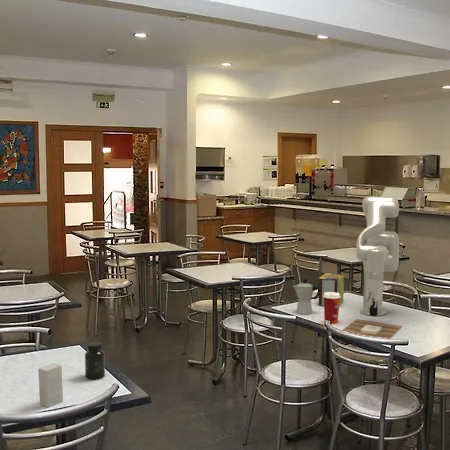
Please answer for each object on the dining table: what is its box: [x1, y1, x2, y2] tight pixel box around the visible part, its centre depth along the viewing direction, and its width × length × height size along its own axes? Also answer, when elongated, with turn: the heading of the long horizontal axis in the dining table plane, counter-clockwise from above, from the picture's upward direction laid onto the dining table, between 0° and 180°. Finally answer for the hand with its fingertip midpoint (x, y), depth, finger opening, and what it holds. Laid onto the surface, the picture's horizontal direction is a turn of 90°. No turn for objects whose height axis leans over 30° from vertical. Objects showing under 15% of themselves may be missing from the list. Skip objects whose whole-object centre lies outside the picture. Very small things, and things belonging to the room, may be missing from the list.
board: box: [341, 318, 403, 340], centre depth 258 cm, size 24×22×1 cm
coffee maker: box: [292, 277, 322, 316], centre depth 289 cm, size 15×9×18 cm, turn 83°
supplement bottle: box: [84, 341, 106, 381], centre depth 201 cm, size 7×7×12 cm
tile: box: [361, 325, 382, 335], centre depth 254 cm, size 2×7×9 cm
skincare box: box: [37, 362, 64, 408], centre depth 179 cm, size 6×4×12 cm
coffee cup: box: [323, 292, 340, 325], centre depth 269 cm, size 8×8×15 cm
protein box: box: [318, 272, 345, 307], centre depth 308 cm, size 10×15×16 cm
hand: (373, 315), depth 255 cm, fingers closed
